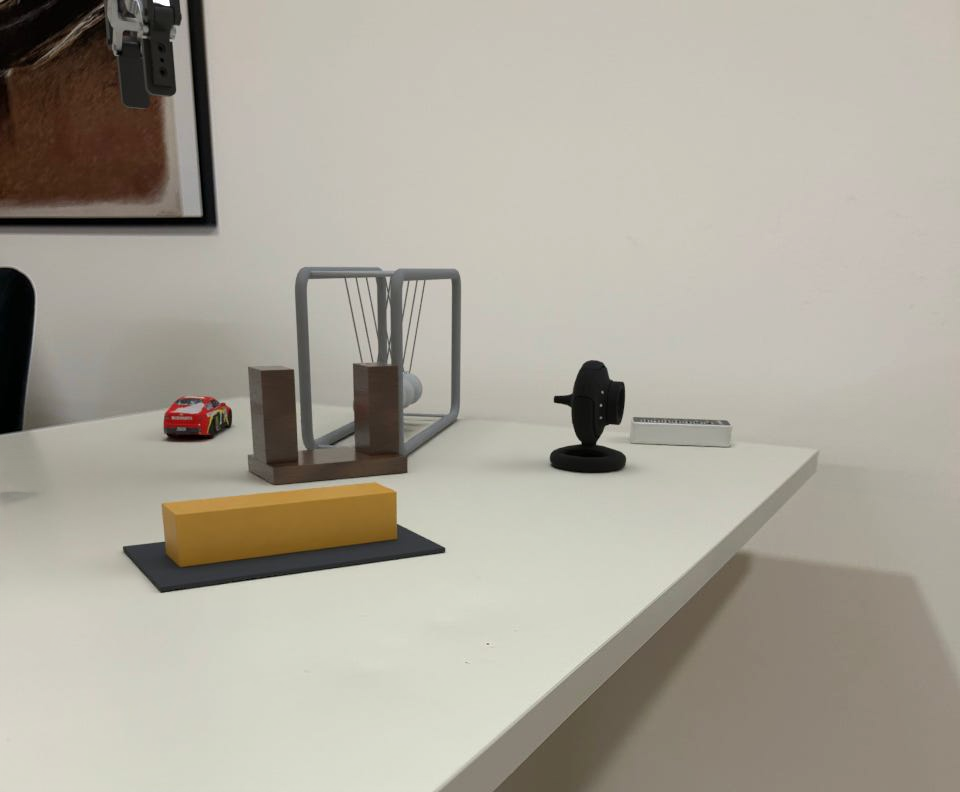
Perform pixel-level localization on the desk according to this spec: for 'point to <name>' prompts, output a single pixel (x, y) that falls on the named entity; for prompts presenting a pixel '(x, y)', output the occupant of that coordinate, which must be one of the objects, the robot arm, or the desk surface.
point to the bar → (278, 523)
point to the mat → (272, 561)
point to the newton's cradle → (379, 346)
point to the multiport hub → (680, 431)
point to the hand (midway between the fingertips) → (148, 101)
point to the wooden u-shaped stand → (366, 458)
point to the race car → (196, 416)
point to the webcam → (592, 420)
